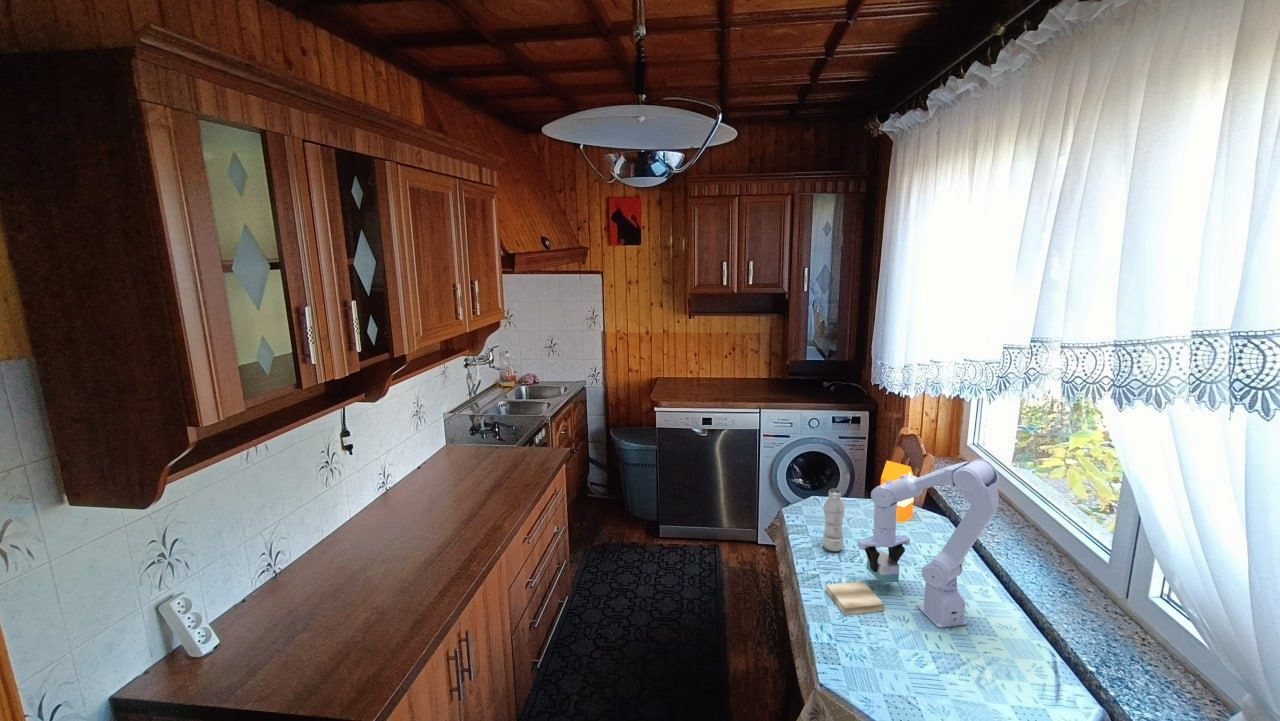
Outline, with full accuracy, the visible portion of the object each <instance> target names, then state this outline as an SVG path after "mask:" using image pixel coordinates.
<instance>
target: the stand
mask: <svg viewBox="0 0 1280 721" xmlns="http://www.w3.org/2000/svg"><path fill="white" fill-rule="evenodd" d="M825 589H826V590H825V592H826V593H827V594H828V595H829V597H830V598H831V599H832V601H833V602H834V603H835V605H836V606H837V608H839V610H840V611H841V612H842V614H844V616H849V615H858V614H859V615H861V614H865V613H866V614H867V613H869V614H870V613H878V612H884V611H885V603H884V602H883V601H882V600H881V599H880V598H879V597H878V595H876V594H875V592H874V591H872V589H871V588H870V587H869V586H868V584H867V583H865V582H864V581H863V580H860V581H858V580H857V581H850V582H840V583H832V584H831V583H830V584H826V585H825Z"/></svg>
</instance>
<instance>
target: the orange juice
mask: <svg viewBox="0 0 1280 721" xmlns="http://www.w3.org/2000/svg"><path fill="white" fill-rule="evenodd" d="M912 470H913V469H912V467H911V466H909V465H906V464H902V463H899V462H898V463H897V462H894V461H891V460H886V462H885V464H884V468H883V470H882V474H881V477H880V485H882V484H884V483H886V481H888V480H891V481H894V480H897V479H900V476H902V475H904V474H906V475H907V476H908V475H913V476H914V473H913V471H912ZM914 498H915V497H914ZM914 498H911V499H907V500H904V501H901V502H898V503H897V514H896V522H899V523H902V524H903V523H905V522H906V521H907V520H909V519H911V518H912V517H913V512H914V511H913V510H914V501H915V500H914Z"/></svg>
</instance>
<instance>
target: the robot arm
mask: <svg viewBox="0 0 1280 721" xmlns="http://www.w3.org/2000/svg"><path fill="white" fill-rule="evenodd" d="M969 462H970V461H962V462H959V463H955V464H951V465H948V466H945V467H943V468H940V469H938V470H935V471H933V472H930V473H926V474H925V475H924V474H923V475H922V476H919V477H918V476H915V475H914V474H913V475H908V476H907V475H906V474H904V475H902V476H900V479H897V480H894V481H891V480H888V481H886V483H884V484H882V485H881V484H880V485H878V486H877V485H876V487H874V488H873V489H872V490H871V492H870V498H871V500H872V502H873V503H874V509H873V510H874V513H873V531H872V533H873V534H872V535H871V536H869V537H866V538H863V539H859V540H857V547H858V548H859V549H860V550H861V551H863V550H864V551H865V553H866V557H867V556H868V559H869V563H870V569H871V570H872V571H873V572H876V571H877V562H878V558H879V555H880V553H879V552H878V549H877V548H887V550H888V555H889V556H890V557H891V558H892V559H893V560H894V561H895V562H896V563H897V564H899V563H898V562H899V560H900V559H901V557H902V555H903V554H904V553H905V551H906V548H905V547H904V546H903V545H905V546H910V545H911V544H910V543H911V538H909V537H908V536H907V535H898V534H897V535H896V530H897V521H896V514H897V503H898V502H901V501H904V500H907V499H911V498H917V497H920V496H921V495H922V493H923V491H924V490H925V489H929V488H933V487H936V486H940V485H945V484H947V485H948V486H950V487H951V488H957V490H958V491H959V492H960V493H961V494H962V496H963V497H964V498H965V499H966V501H967V502H968V503H969V505H970V507H969V508H968V509H967V511H966V512H965V514H964V515H963V517H962V519H961V520H960V522H959V523H958V525H957V526H956V528H955V529H954V530H953V533H952V534H951V536H950V537H949V539H948V540H947V542H946V543H945V545H944V547H943V548H942V549H941V551H939V553H938V554H937V555H936V556H935V557H934V558H933V559H932V560H931V561H930V562H929V563H926V564H925V565H923V567H922V569H921V577H922V578H923V580H924V581H925V584H924V586H925V587H924V602H922V603H917V604H916V607H917V608H918V609H919V610H920V611H921V612H922V613H923V614H924V615H925V616H926V617H927V618H928V619H929V620H930V621H931V622H932V623H933V624H934V625H935V626H936V627H937V628H947V627H948V628H949V627H957V626H965V625H967V623H968V622H967V621H965V610H966V601H965V599H964V598H963V596H962V595H961V593H960V592H959V590H958V580H957V578H958V577H959V576H960V575H961V574H962V573H963V564H964V563H965V561H966V556H967V555H968V553H969V552H970V550H971V548H972V547H973V546H974V545H975V542H976V541H977V540H978V538H979V537H980V536H981V534H982V533H983V531H984V530H985V529H986V527H987V525H988V524H989V522H990V521H991V519H993V516H994V515H995V514H996V512H997V511H998V509H999V506H1000V504H999V482H1000V478H1001V477H1000V476H999V474H998V472H997V470H996V468H995V466H994V465H993V464H992V463H991V462H990V461H989V460H987V459H983V458H976V459H974V460H973V459H972V461H971V462H970V463H969Z"/></svg>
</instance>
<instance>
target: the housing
mask: <svg viewBox="0 0 1280 721" xmlns="http://www.w3.org/2000/svg"><path fill="white" fill-rule="evenodd" d="M877 551H878V550H877ZM878 552H879V553H880V555H879V558H878V562H877V571H876V572H873V571H872V570H871V569H870V563H869V559H868V556H867V555H866V569H867V570H868V571H869V573H871V575H873V577H875V578H876V579H877V580H878V582H880V584H890V583H899V578H900V577H899V576H900V574H899V573H900V564H899V563H896V562H895V561H894V560H893V559H892V558H891V557H890V556H889V554H888V553H886V551H884V550H879V551H878Z"/></svg>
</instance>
